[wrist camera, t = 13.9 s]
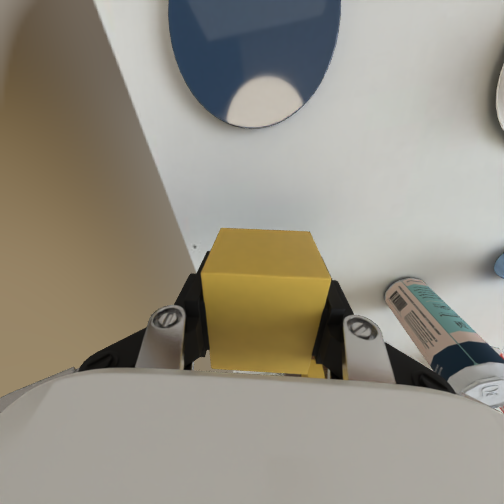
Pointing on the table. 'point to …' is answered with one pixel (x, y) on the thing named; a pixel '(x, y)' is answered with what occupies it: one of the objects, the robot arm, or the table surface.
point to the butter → (315, 371)
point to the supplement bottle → (448, 342)
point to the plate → (253, 54)
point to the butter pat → (263, 299)
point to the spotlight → (499, 266)
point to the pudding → (500, 98)
